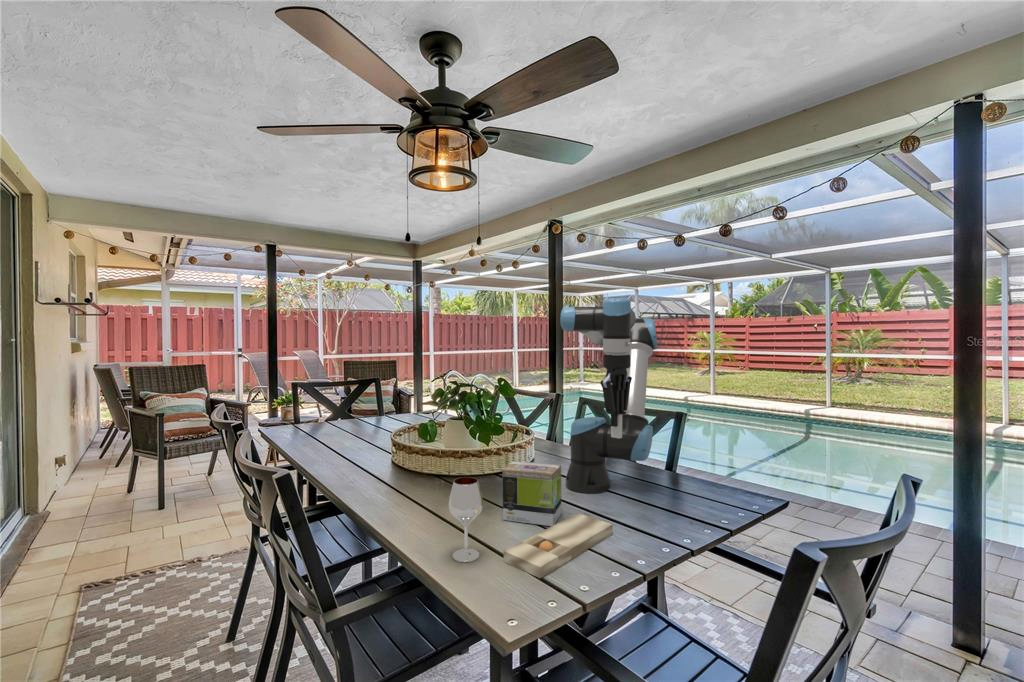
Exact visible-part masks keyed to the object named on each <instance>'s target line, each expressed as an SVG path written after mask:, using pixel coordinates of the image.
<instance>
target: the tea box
mask: <svg viewBox="0 0 1024 682" xmlns="http://www.w3.org/2000/svg"><path fill="white" fill-rule="evenodd" d="M501 474H502V476H501V477H502V478H501V479H502V520H503V521H509V522H517V523H518V522H519V523H524V524H533V525H541V526H548V527H551V526H553V525H555V524H557V523H558V522H557V521H558V519H559V518H560V517H561V514H562V465H561V464H556V463H544V462H543V463H541V462H534V461H533V462H531V461H519V460H517V461H516V460H513V461H511V462H510V463H509V464H508V465H507V466H505V467H504V468H503V469H502V473H501Z"/></svg>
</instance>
